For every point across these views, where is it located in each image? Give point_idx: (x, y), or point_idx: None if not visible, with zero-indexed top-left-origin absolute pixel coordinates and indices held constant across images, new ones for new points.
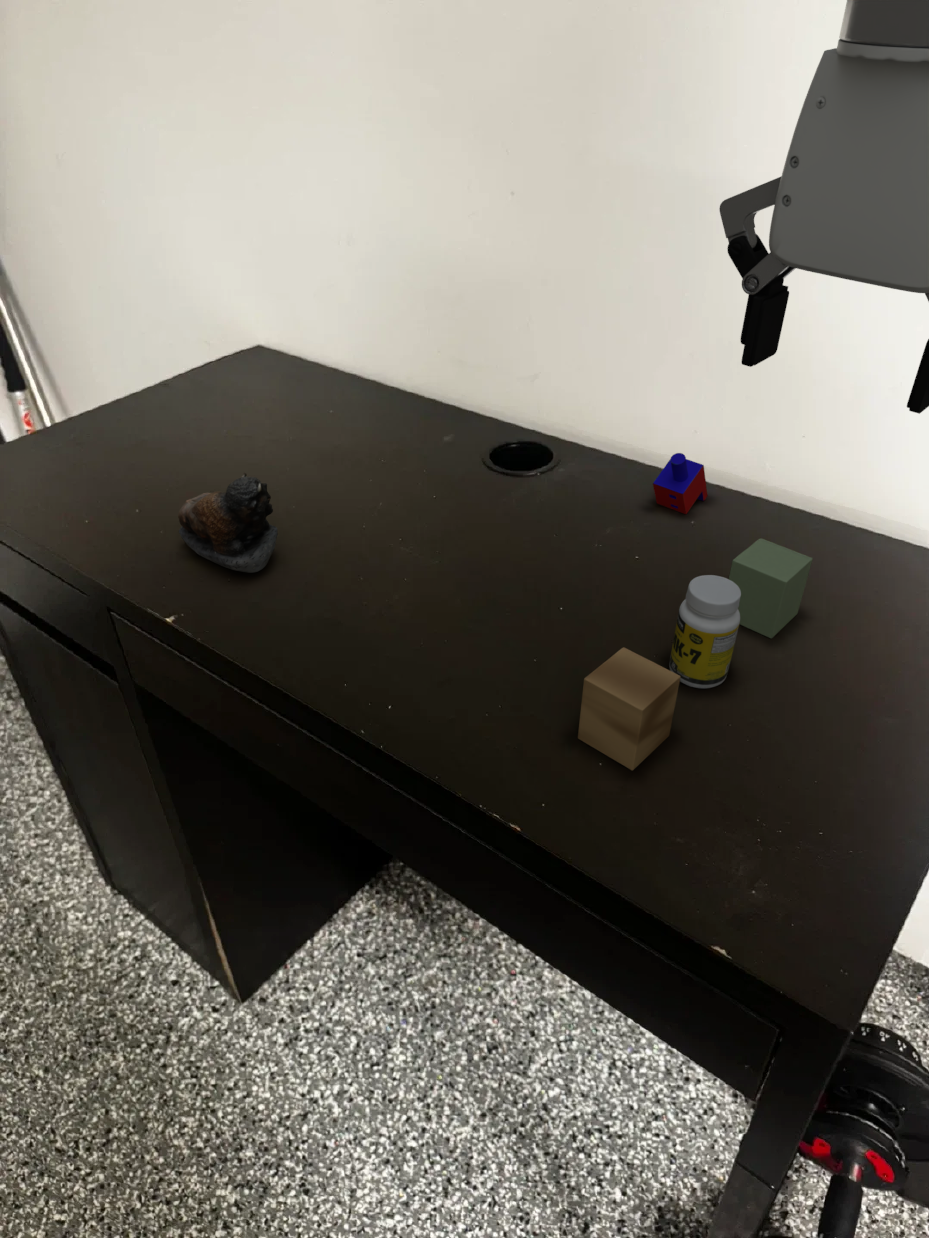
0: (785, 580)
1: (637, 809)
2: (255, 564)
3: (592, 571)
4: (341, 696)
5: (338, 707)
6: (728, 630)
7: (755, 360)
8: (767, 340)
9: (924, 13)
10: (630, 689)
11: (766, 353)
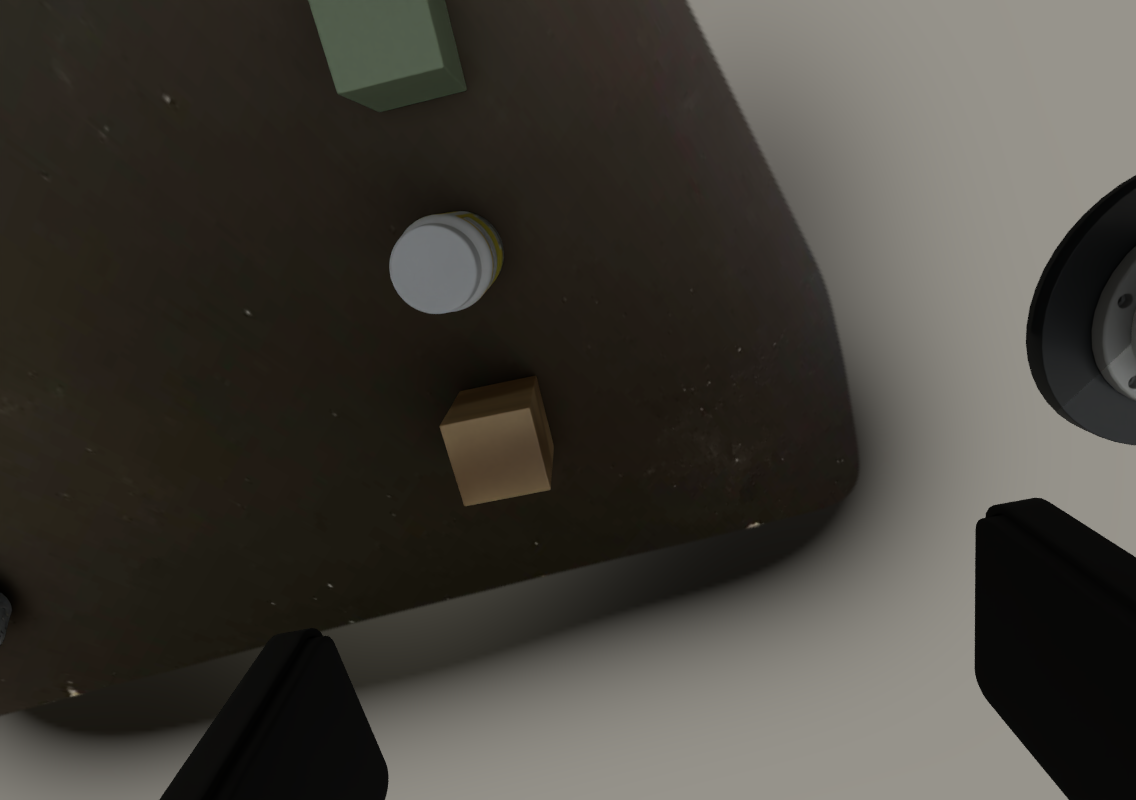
0: (439, 63)
1: (596, 477)
2: (2, 616)
3: (177, 201)
4: (289, 614)
5: (305, 623)
6: (491, 273)
7: (381, 786)
8: (333, 792)
9: None
10: (513, 477)
11: (352, 727)
